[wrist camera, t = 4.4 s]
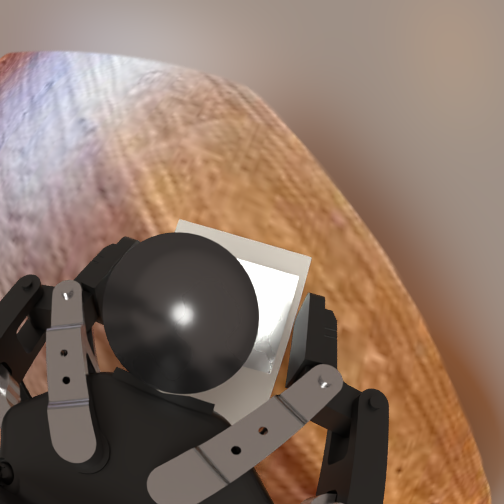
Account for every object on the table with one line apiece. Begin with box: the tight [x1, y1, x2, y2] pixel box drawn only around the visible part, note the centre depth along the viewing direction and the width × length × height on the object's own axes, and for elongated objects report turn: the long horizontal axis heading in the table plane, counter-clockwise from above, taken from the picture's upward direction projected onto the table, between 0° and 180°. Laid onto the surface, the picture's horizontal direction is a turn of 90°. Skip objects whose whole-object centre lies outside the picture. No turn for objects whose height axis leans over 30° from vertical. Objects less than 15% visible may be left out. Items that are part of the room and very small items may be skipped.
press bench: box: [158, 219, 312, 425], centre depth 17 cm, size 26×10×6 cm, turn 164°
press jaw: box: [103, 232, 299, 394], centre depth 13 cm, size 6×8×13 cm
